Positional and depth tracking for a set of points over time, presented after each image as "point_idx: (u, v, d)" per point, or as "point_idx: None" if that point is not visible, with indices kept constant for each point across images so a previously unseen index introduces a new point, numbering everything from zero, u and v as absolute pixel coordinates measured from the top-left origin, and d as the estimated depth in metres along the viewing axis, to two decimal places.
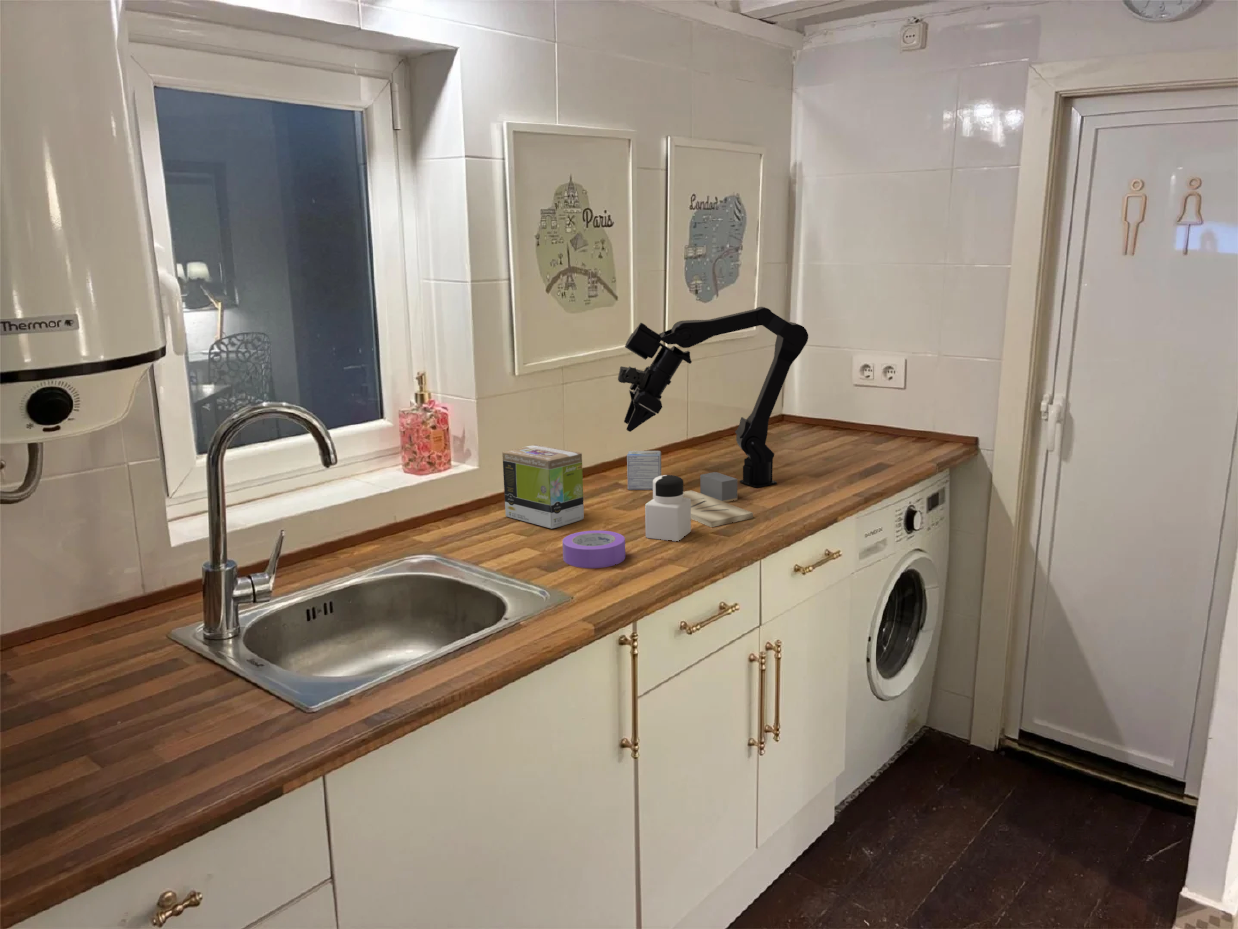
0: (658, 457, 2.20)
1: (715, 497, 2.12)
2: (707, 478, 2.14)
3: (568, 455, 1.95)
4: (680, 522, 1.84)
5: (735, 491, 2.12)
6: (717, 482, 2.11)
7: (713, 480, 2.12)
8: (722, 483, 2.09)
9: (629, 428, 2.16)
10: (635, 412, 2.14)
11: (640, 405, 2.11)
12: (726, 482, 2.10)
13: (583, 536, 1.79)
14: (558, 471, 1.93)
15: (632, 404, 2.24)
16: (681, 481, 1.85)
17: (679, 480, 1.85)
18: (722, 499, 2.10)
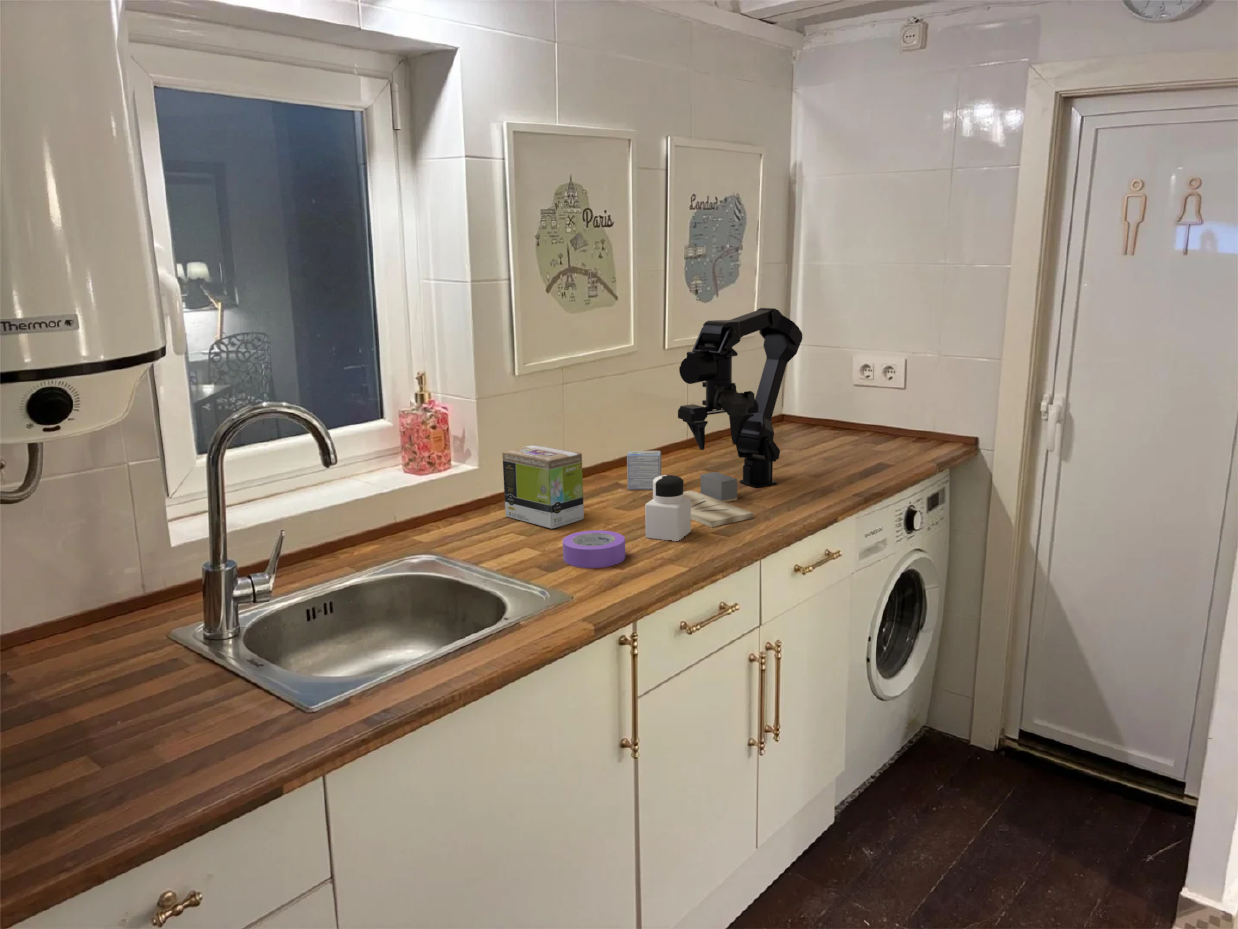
0: (658, 457, 2.20)
1: (715, 497, 2.12)
2: (707, 478, 2.14)
3: (568, 456, 1.95)
4: (680, 522, 1.84)
5: (735, 491, 2.12)
6: (716, 482, 2.11)
7: (713, 480, 2.12)
8: (722, 483, 2.09)
9: None
10: None
11: None
12: (726, 482, 2.10)
13: (583, 536, 1.79)
14: (558, 471, 1.93)
15: None
16: (681, 481, 1.85)
17: (679, 480, 1.85)
18: (722, 499, 2.10)
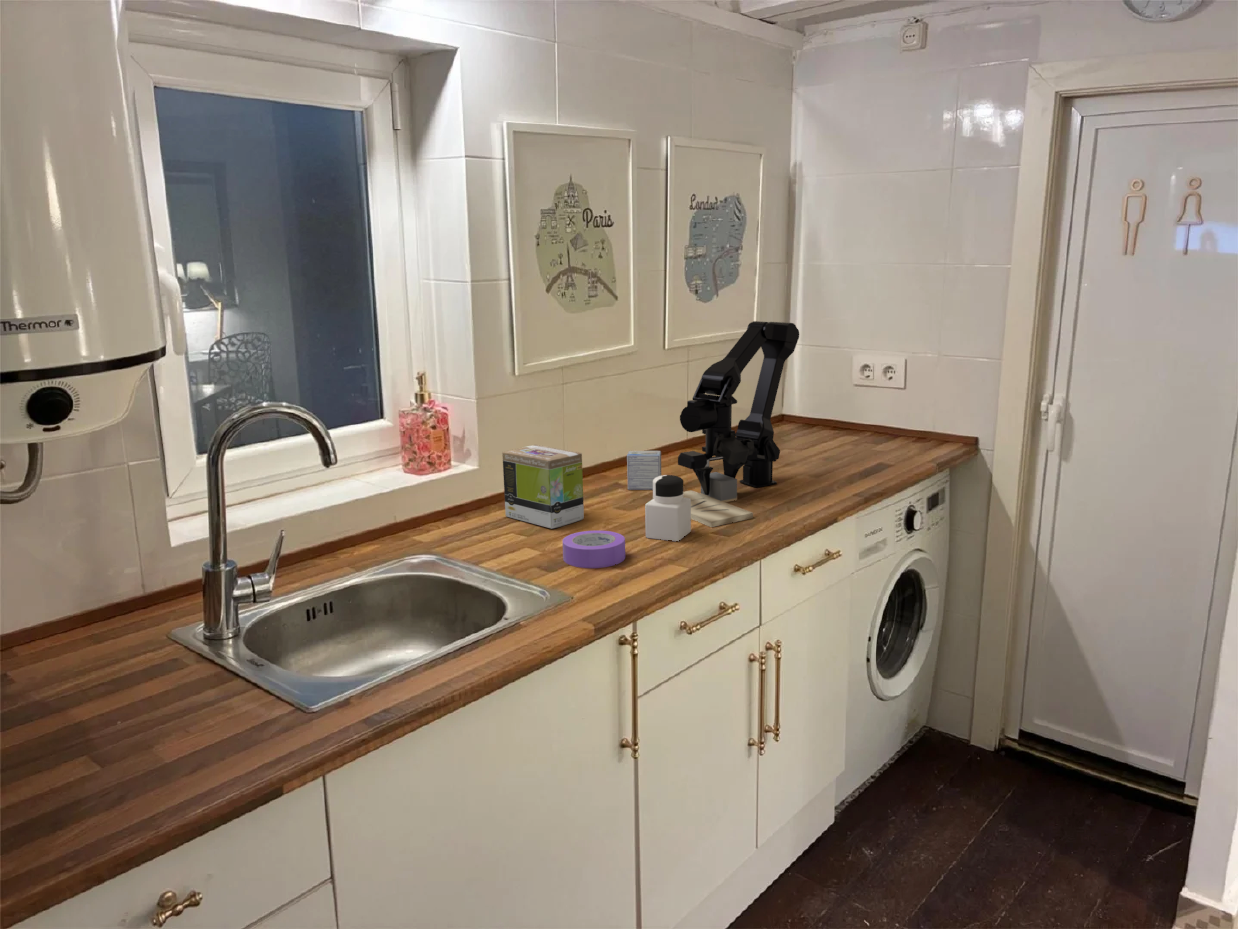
0: (658, 457, 2.20)
1: (714, 497, 2.12)
2: None
3: (568, 456, 1.95)
4: (680, 522, 1.84)
5: (735, 491, 2.12)
6: (716, 482, 2.11)
7: (713, 480, 2.12)
8: (721, 483, 2.09)
9: None
10: None
11: None
12: (725, 482, 2.10)
13: (583, 536, 1.79)
14: (558, 471, 1.93)
15: None
16: (681, 481, 1.85)
17: (679, 480, 1.85)
18: (721, 499, 2.10)
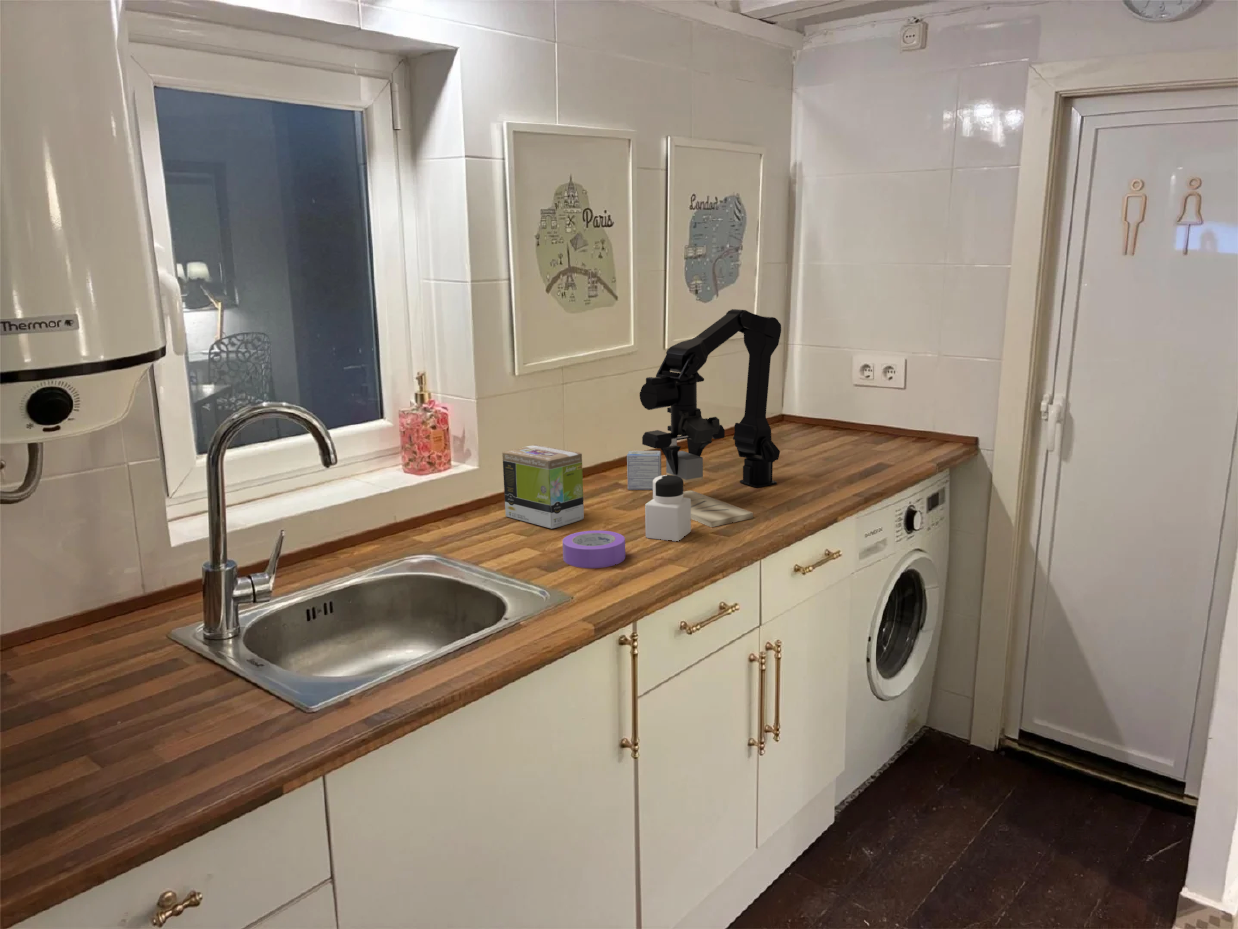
0: (658, 457, 2.20)
1: (680, 476, 2.07)
2: None
3: (568, 456, 1.95)
4: (680, 522, 1.84)
5: (700, 470, 2.07)
6: (681, 460, 2.06)
7: (678, 458, 2.07)
8: (686, 461, 2.04)
9: None
10: None
11: None
12: (691, 460, 2.05)
13: (583, 536, 1.79)
14: (558, 471, 1.93)
15: None
16: (681, 481, 1.85)
17: (679, 480, 1.85)
18: (687, 478, 2.05)
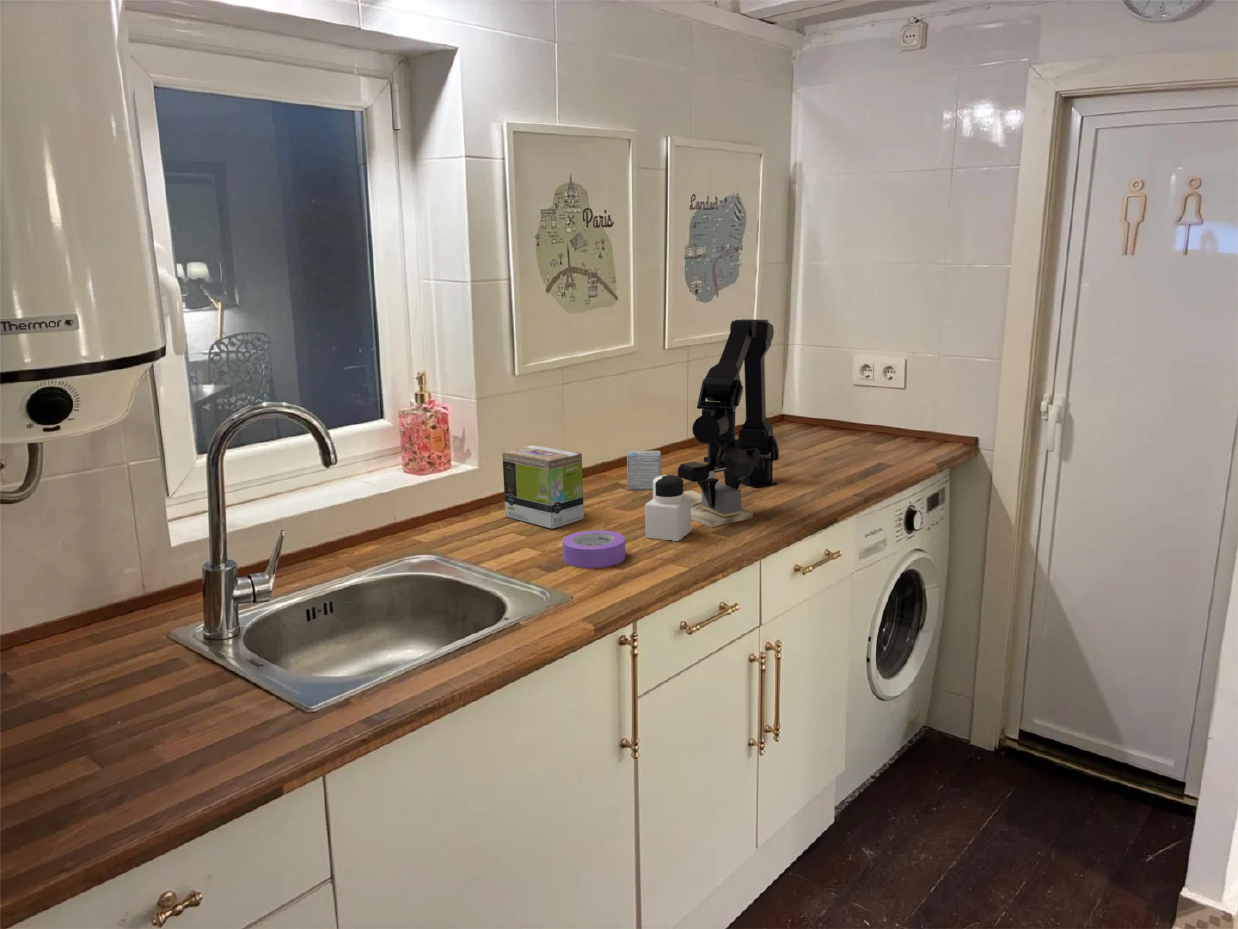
0: (658, 457, 2.20)
1: (717, 510, 1.97)
2: None
3: (568, 456, 1.95)
4: (680, 522, 1.84)
5: (739, 504, 1.96)
6: (719, 493, 1.95)
7: (715, 492, 1.96)
8: (724, 495, 1.94)
9: None
10: None
11: None
12: (729, 494, 1.94)
13: (583, 536, 1.79)
14: (558, 471, 1.93)
15: None
16: (681, 481, 1.85)
17: (679, 480, 1.85)
18: (724, 512, 1.95)
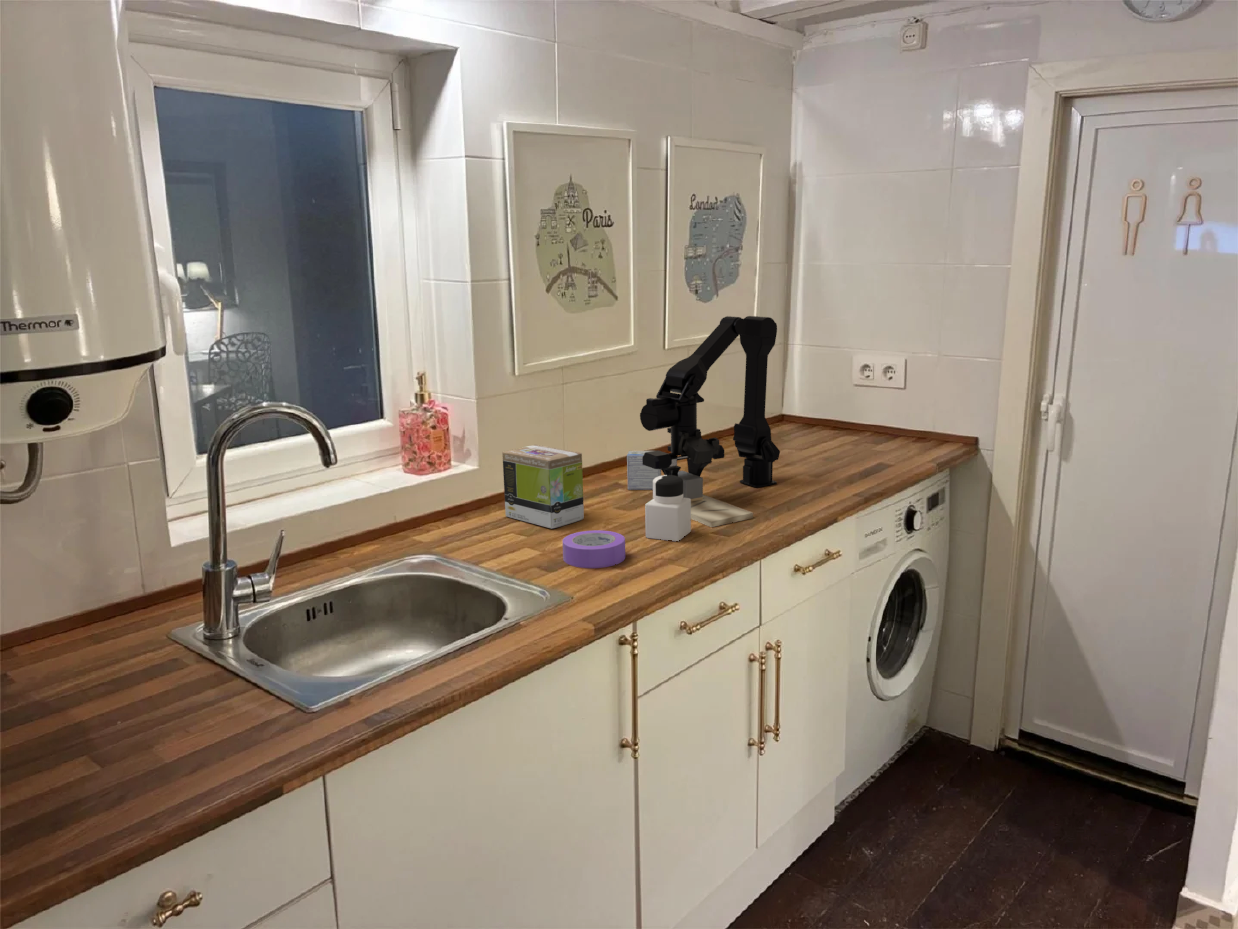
0: None
1: None
2: None
3: (568, 456, 1.95)
4: (680, 522, 1.84)
5: (700, 490, 2.08)
6: None
7: None
8: (687, 482, 2.05)
9: None
10: None
11: None
12: (691, 481, 2.06)
13: (583, 536, 1.79)
14: (558, 471, 1.93)
15: None
16: (681, 481, 1.85)
17: (679, 480, 1.85)
18: None
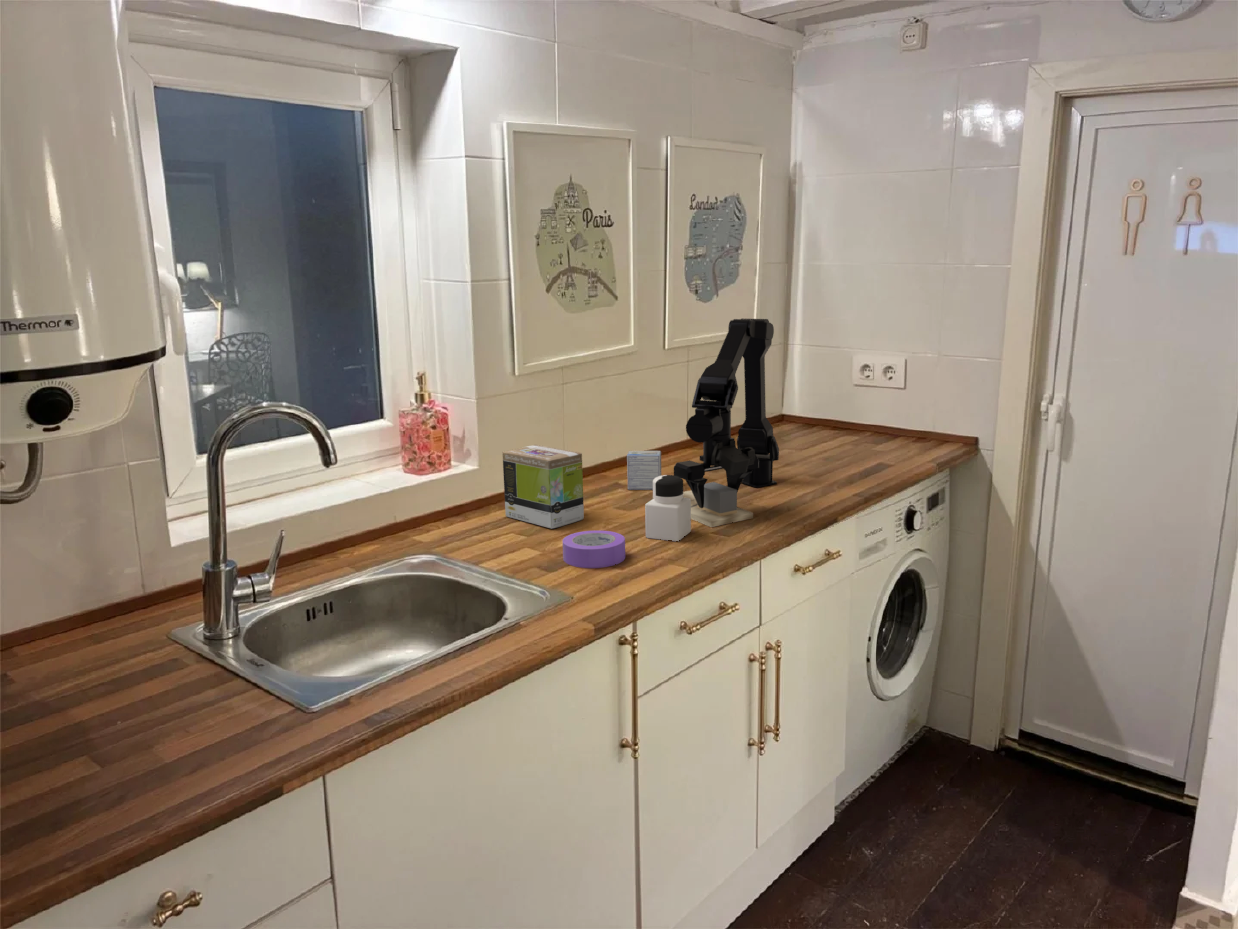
0: (658, 457, 2.20)
1: (713, 509, 1.98)
2: (705, 489, 2.00)
3: (568, 456, 1.95)
4: (680, 522, 1.84)
5: (734, 503, 1.98)
6: (715, 493, 1.97)
7: (711, 491, 1.98)
8: (720, 494, 1.95)
9: None
10: None
11: None
12: (725, 493, 1.96)
13: (583, 536, 1.79)
14: (558, 471, 1.93)
15: None
16: (681, 481, 1.85)
17: (679, 480, 1.85)
18: (720, 511, 1.96)
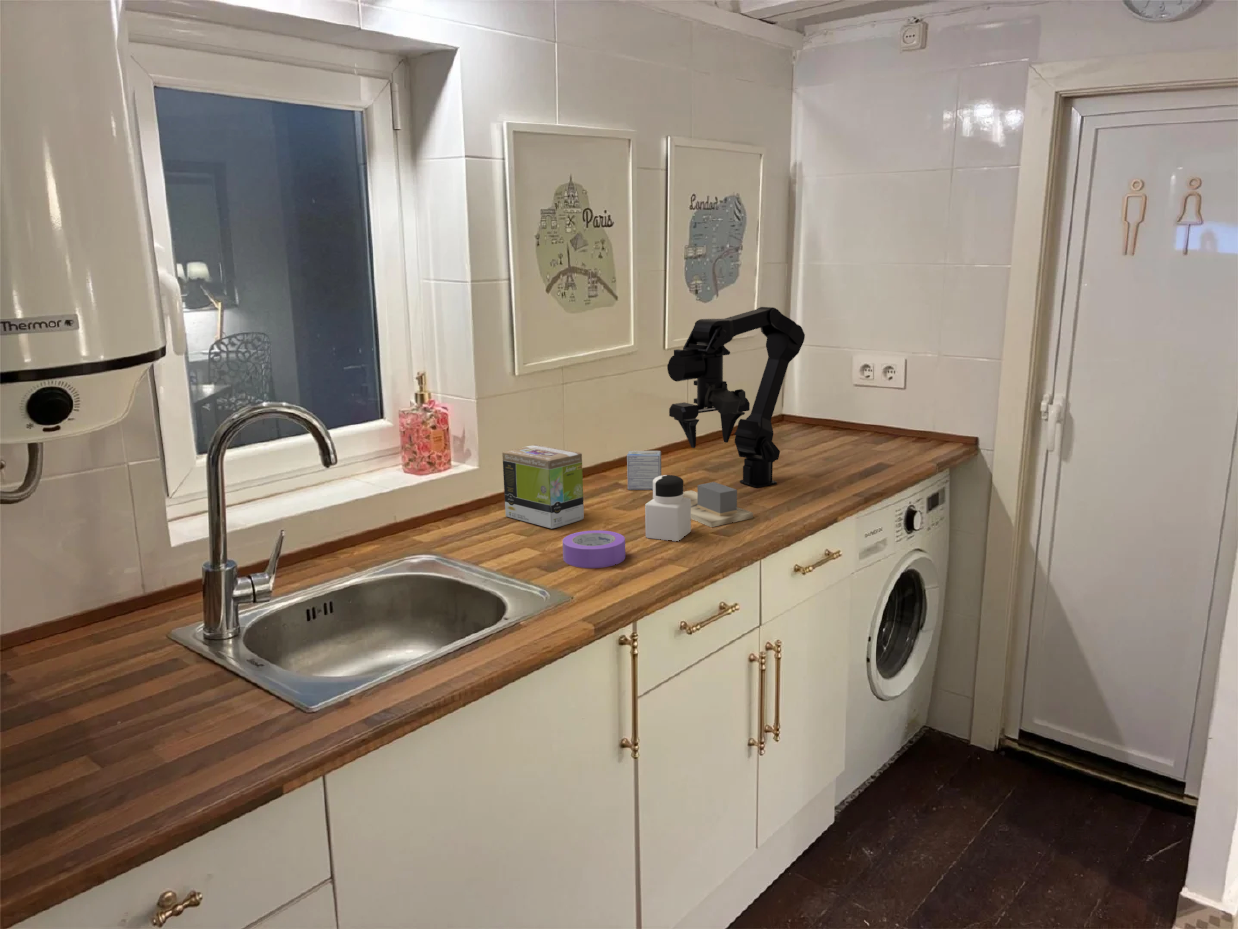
0: (658, 457, 2.20)
1: (713, 509, 1.98)
2: (705, 489, 2.00)
3: (568, 456, 1.95)
4: (680, 522, 1.84)
5: (734, 503, 1.98)
6: (715, 493, 1.97)
7: (711, 491, 1.98)
8: (720, 494, 1.95)
9: None
10: None
11: None
12: (725, 493, 1.96)
13: (583, 536, 1.79)
14: (558, 471, 1.93)
15: None
16: (681, 481, 1.85)
17: (679, 480, 1.85)
18: (720, 511, 1.96)
